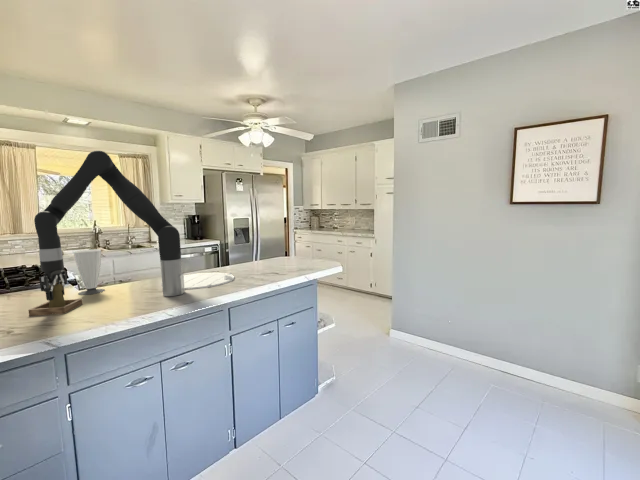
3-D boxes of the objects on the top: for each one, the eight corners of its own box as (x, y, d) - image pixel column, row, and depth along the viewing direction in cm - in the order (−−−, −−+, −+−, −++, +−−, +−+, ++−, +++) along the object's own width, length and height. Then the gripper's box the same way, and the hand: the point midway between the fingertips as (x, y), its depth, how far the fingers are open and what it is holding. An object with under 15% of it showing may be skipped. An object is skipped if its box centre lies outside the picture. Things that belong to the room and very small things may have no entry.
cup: (91, 295, 161) (86, 252, 159) (72, 294, 164) (67, 252, 162) (110, 289, 173) (106, 249, 170) (92, 289, 175) (88, 249, 173)
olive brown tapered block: (64, 306, 143) (61, 282, 142) (68, 309, 139) (65, 283, 138) (47, 310, 139) (44, 284, 138) (50, 312, 135) (47, 286, 134)
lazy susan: (244, 274, 205) (244, 268, 205) (219, 289, 167) (219, 283, 166) (184, 274, 209) (183, 269, 209) (146, 290, 171) (145, 283, 170)
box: (82, 304, 146) (82, 298, 146) (64, 313, 134) (64, 307, 133) (50, 306, 144) (49, 300, 144) (29, 315, 131) (28, 309, 131)
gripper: (50, 261, 130) (55, 301, 132) (71, 256, 144) (75, 292, 146) (29, 262, 129) (34, 303, 131) (52, 257, 143) (56, 294, 145)
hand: (55, 297), depth 138 cm, fingers open, 7 cm apart
